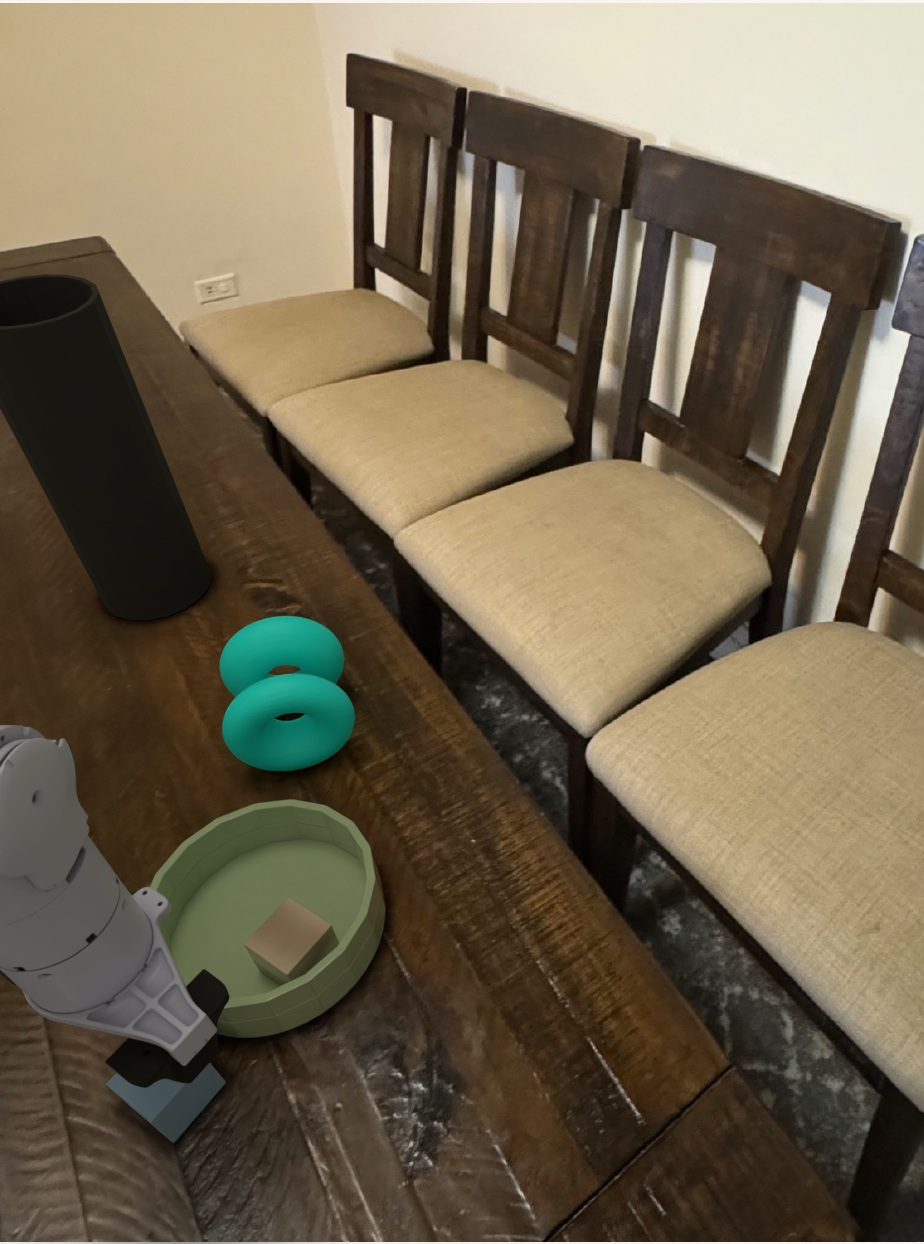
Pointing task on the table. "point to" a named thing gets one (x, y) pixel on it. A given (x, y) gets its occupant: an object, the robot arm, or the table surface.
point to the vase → (95, 447)
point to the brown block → (290, 942)
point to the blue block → (170, 1100)
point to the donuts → (285, 694)
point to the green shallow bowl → (271, 907)
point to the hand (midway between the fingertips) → (154, 1027)
